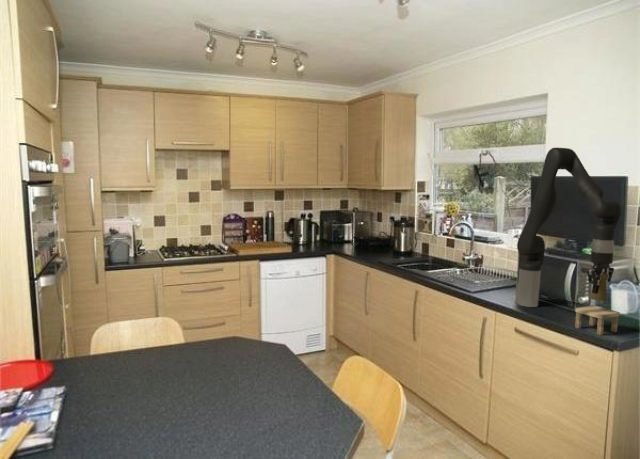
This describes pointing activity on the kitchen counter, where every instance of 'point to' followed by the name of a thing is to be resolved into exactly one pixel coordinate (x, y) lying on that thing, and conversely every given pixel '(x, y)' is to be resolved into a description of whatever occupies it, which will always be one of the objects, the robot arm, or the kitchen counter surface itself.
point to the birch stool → (597, 313)
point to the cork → (601, 289)
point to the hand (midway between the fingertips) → (598, 293)
